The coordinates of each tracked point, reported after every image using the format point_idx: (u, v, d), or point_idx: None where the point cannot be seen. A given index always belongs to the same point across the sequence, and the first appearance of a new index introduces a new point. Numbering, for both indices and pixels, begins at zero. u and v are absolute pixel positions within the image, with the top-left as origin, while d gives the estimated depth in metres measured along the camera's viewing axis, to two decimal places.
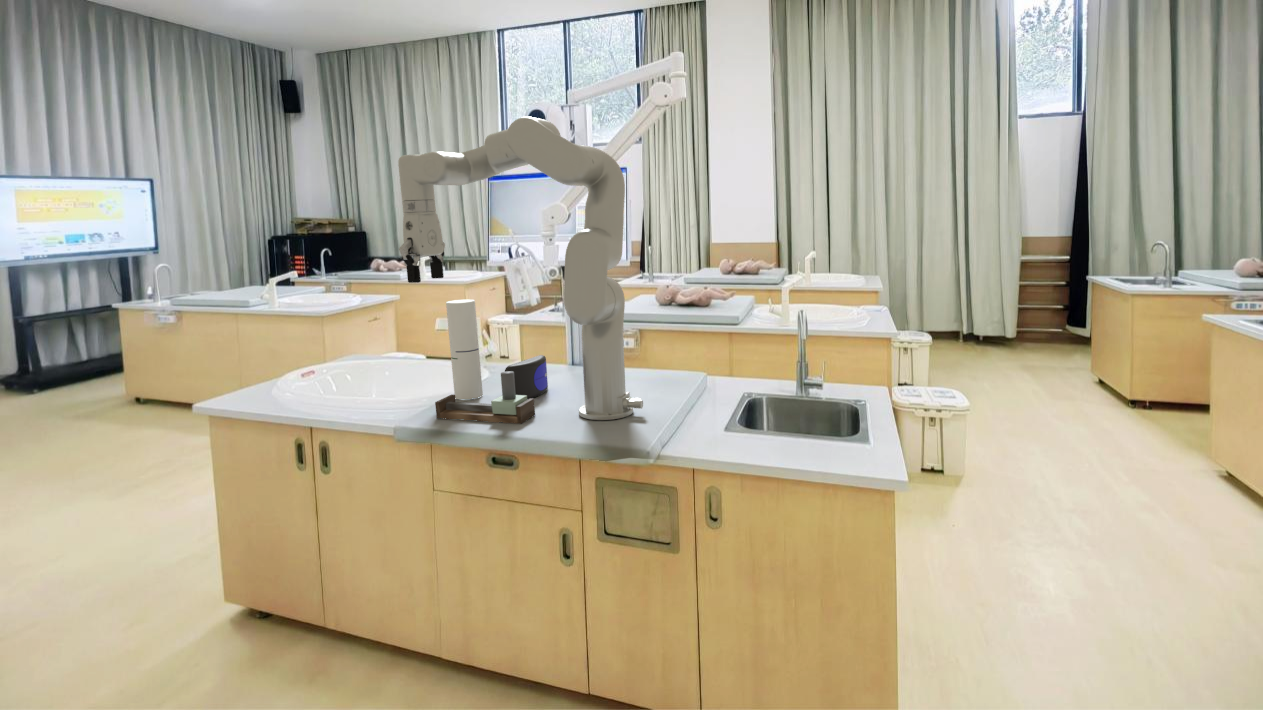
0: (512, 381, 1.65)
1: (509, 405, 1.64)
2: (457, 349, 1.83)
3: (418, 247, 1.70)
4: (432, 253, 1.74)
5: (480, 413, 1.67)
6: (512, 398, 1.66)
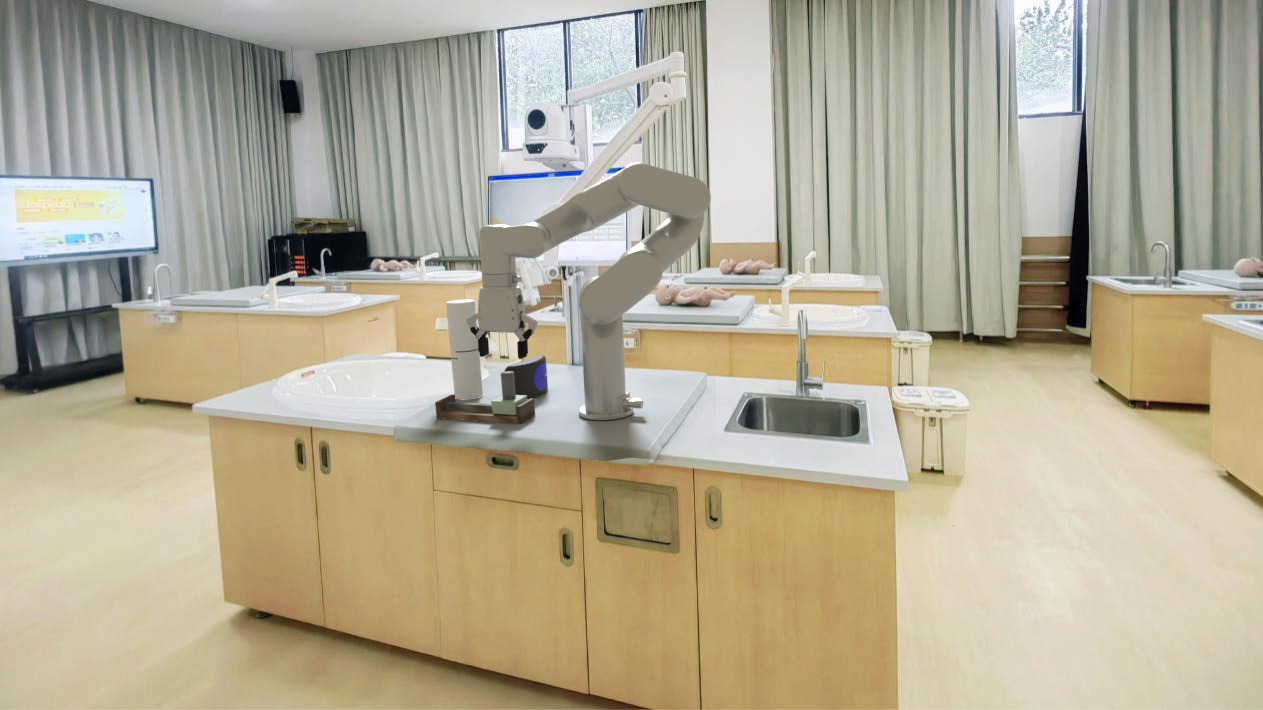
0: (512, 381, 1.65)
1: (509, 405, 1.64)
2: (457, 349, 1.83)
3: None
4: None
5: (480, 413, 1.67)
6: (512, 398, 1.66)
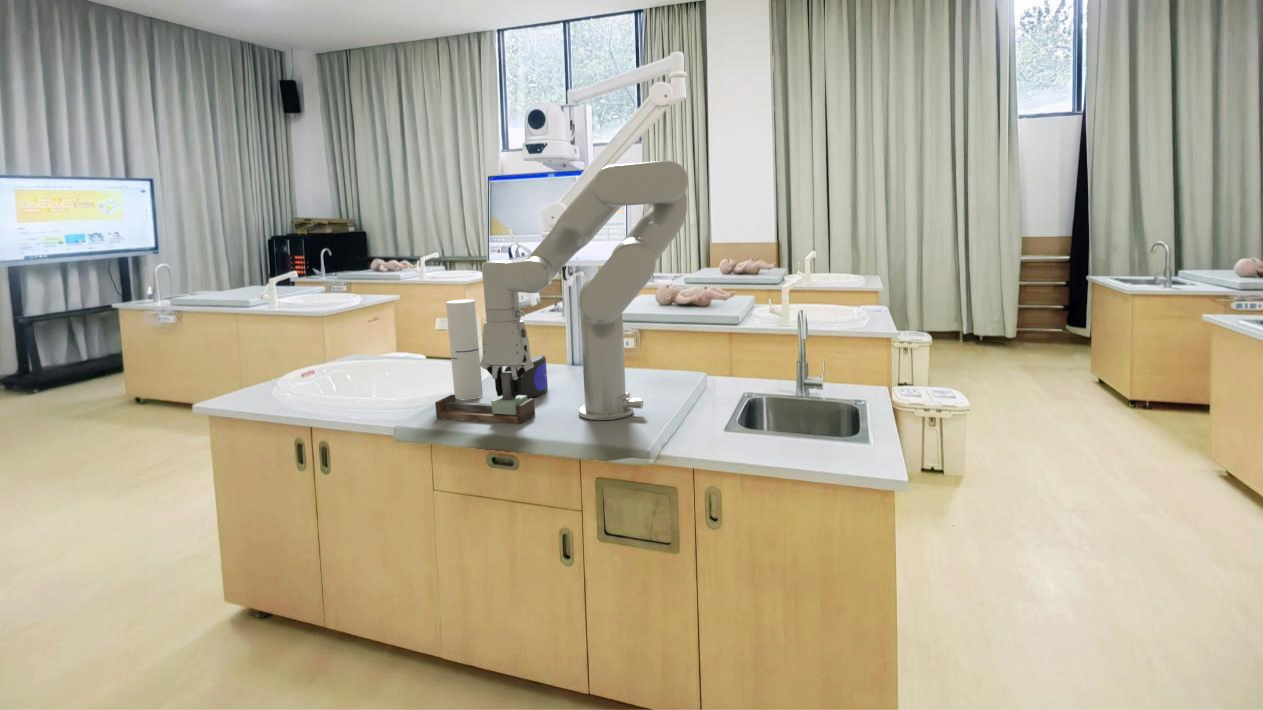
0: None
1: (509, 405, 1.64)
2: (457, 349, 1.83)
3: (529, 353, 1.65)
4: None
5: (480, 413, 1.67)
6: (512, 398, 1.66)
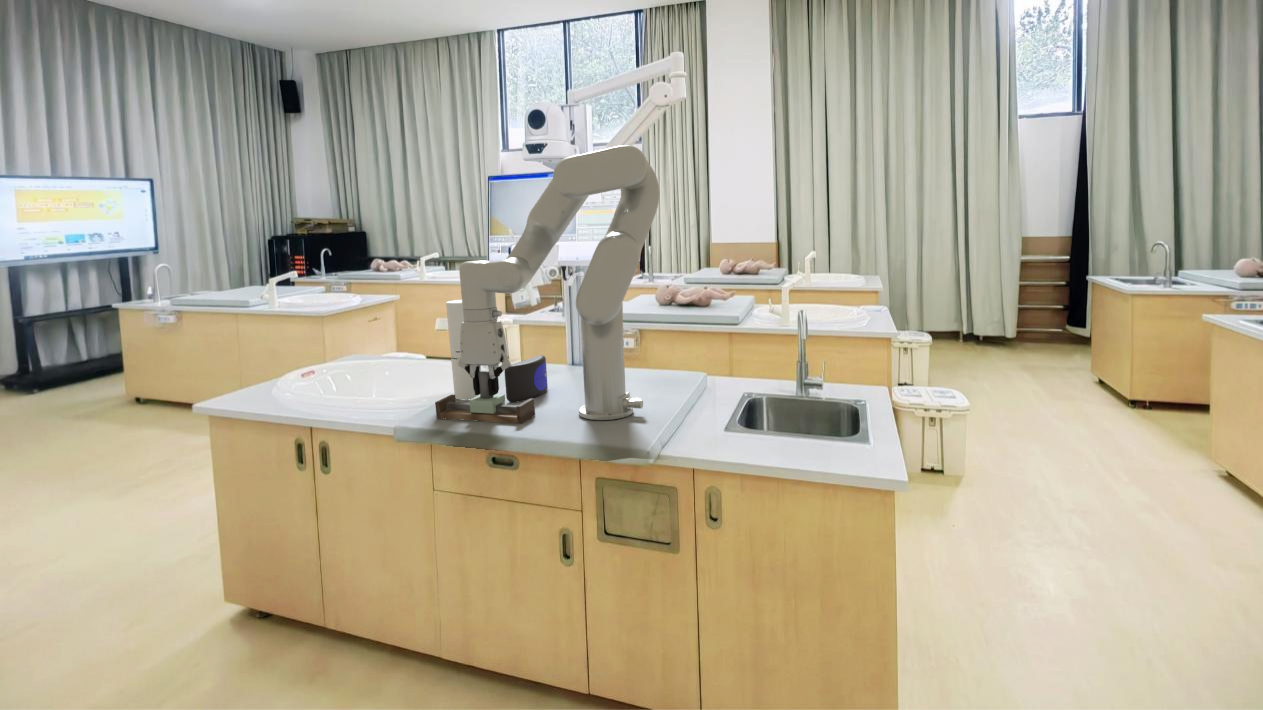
0: None
1: (486, 404, 1.66)
2: (457, 349, 1.83)
3: (507, 352, 1.67)
4: None
5: (480, 413, 1.67)
6: (490, 397, 1.68)
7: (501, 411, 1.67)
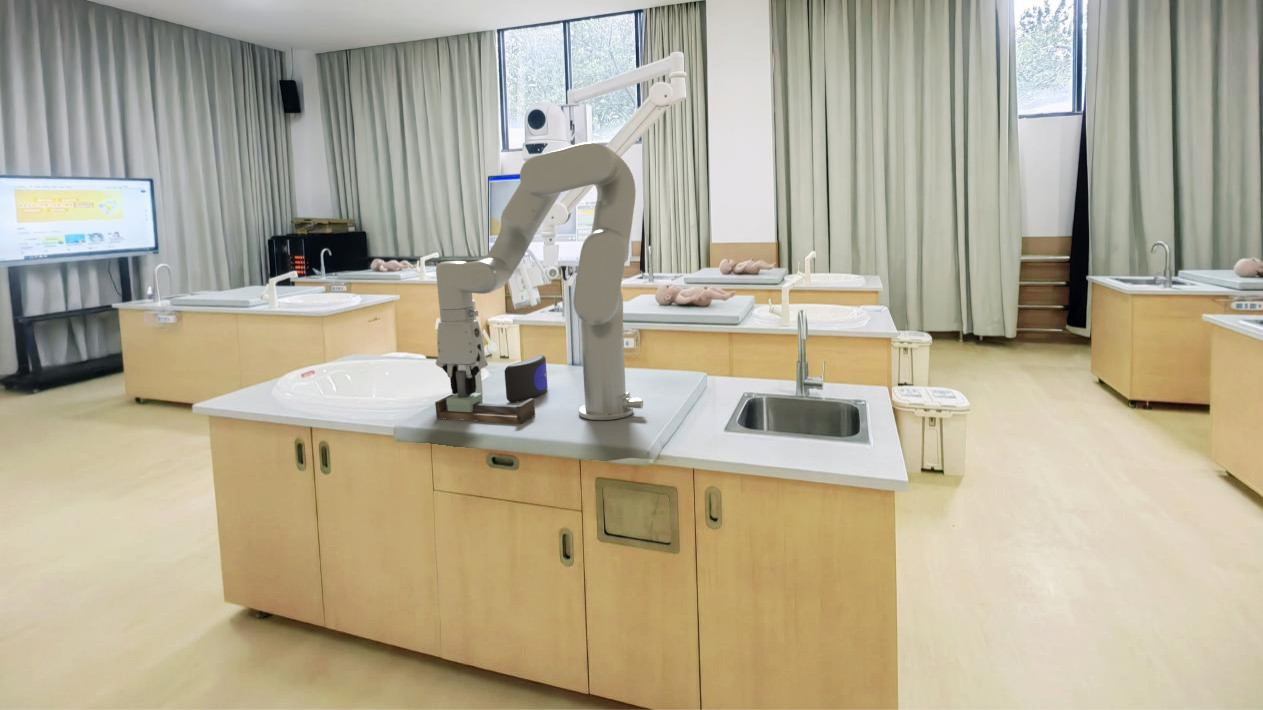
0: None
1: (463, 403, 1.68)
2: None
3: (484, 352, 1.69)
4: None
5: (480, 413, 1.67)
6: (467, 396, 1.69)
7: (501, 411, 1.67)
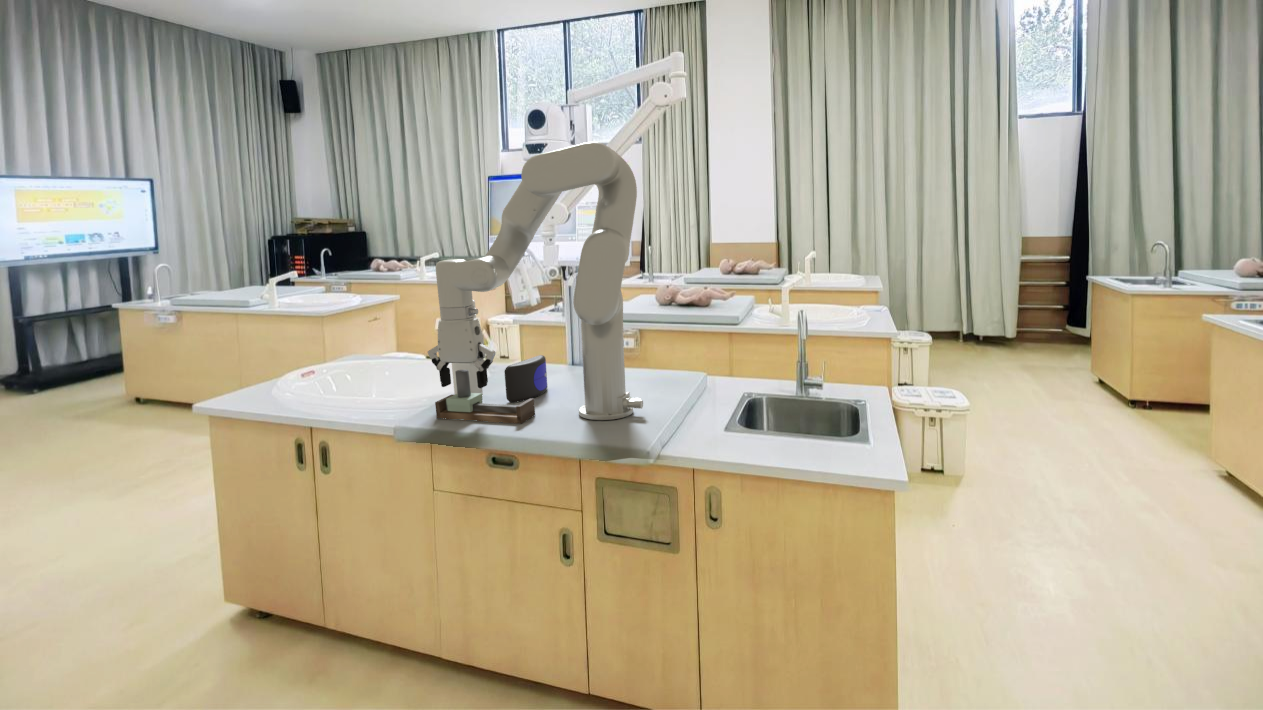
0: (466, 379, 1.69)
1: (463, 403, 1.68)
2: None
3: None
4: None
5: (480, 413, 1.67)
6: (467, 396, 1.69)
7: (501, 411, 1.67)
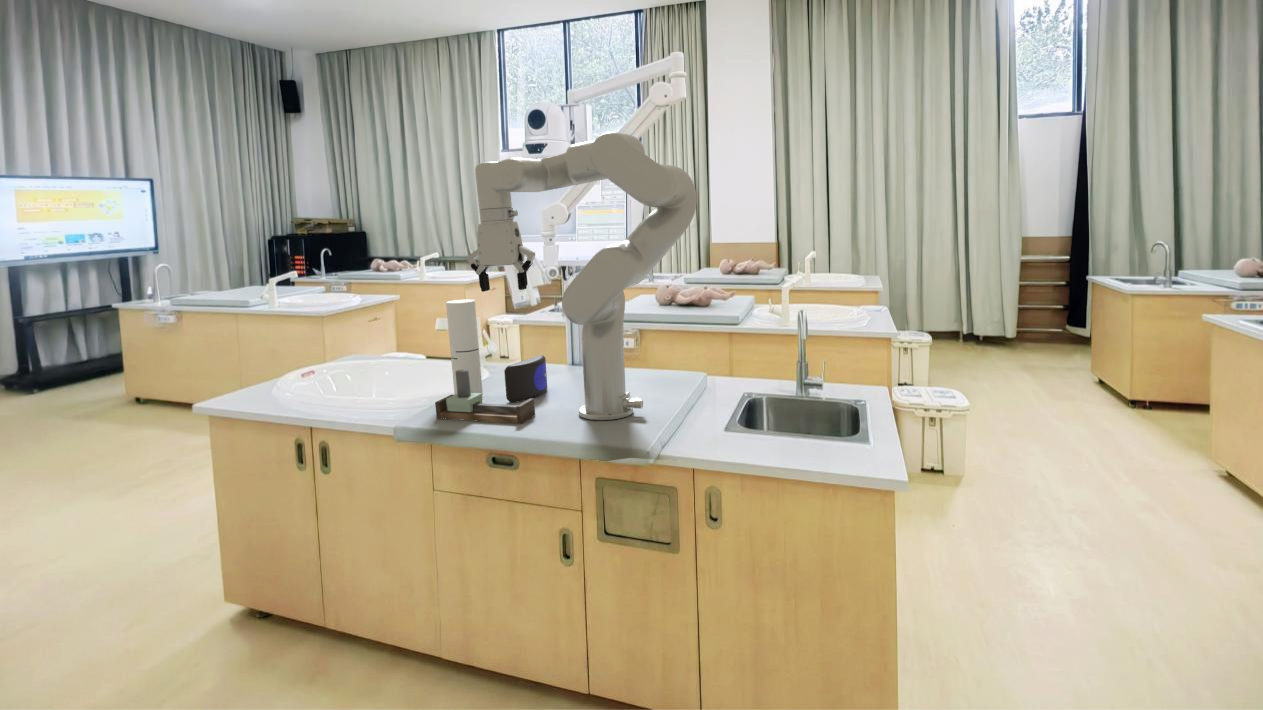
0: (466, 379, 1.69)
1: (463, 403, 1.68)
2: (457, 349, 1.83)
3: (523, 253, 1.72)
4: None
5: (480, 413, 1.67)
6: (467, 396, 1.69)
7: (501, 411, 1.67)
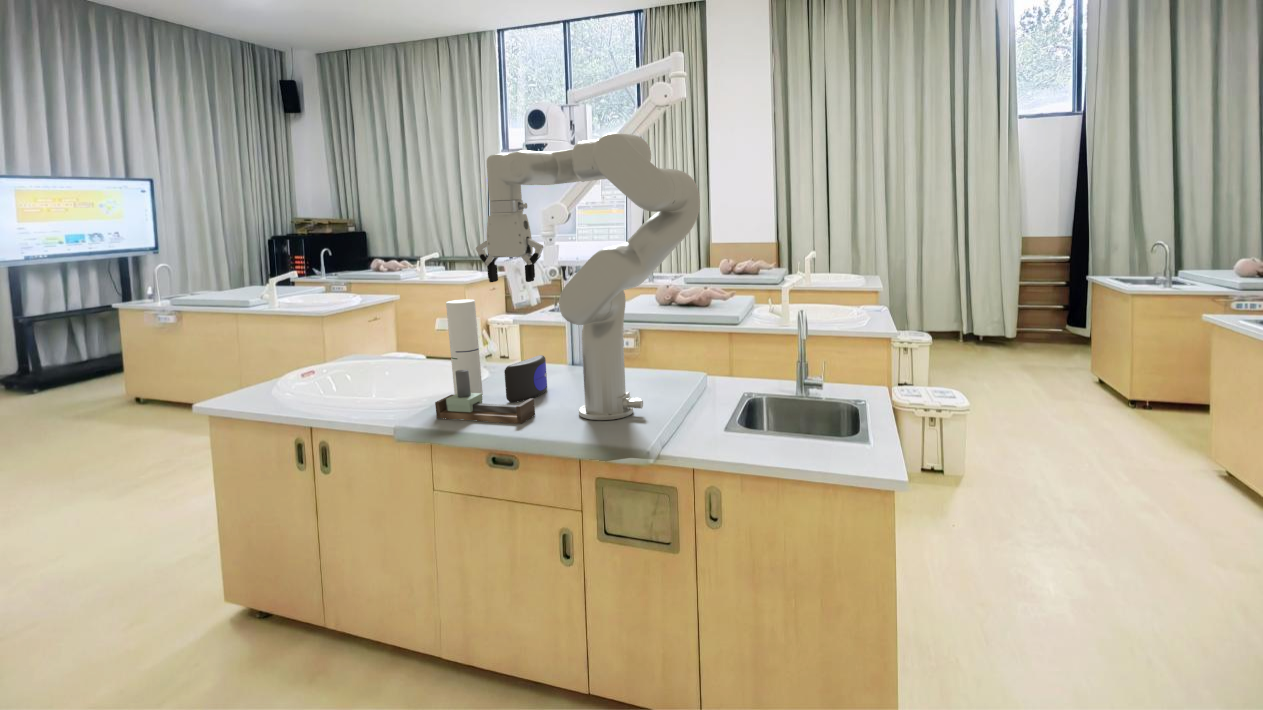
0: (466, 379, 1.69)
1: (463, 403, 1.68)
2: (457, 349, 1.83)
3: (532, 246, 1.73)
4: None
5: (480, 413, 1.67)
6: (467, 396, 1.69)
7: (501, 411, 1.67)
